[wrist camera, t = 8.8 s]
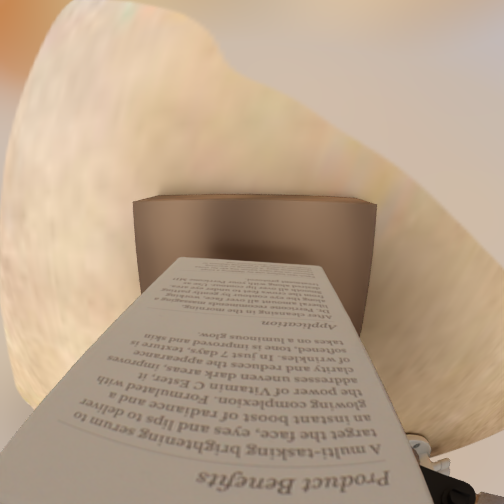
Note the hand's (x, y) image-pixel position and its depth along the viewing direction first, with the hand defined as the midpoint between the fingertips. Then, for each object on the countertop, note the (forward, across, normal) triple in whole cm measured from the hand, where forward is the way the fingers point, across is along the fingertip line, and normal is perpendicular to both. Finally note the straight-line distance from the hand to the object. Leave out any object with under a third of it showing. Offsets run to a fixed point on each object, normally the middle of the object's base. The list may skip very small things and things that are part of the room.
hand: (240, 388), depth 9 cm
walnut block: (+10, 0, 0) cm, 10 cm away
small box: (+3, 0, 0) cm, 3 cm away
